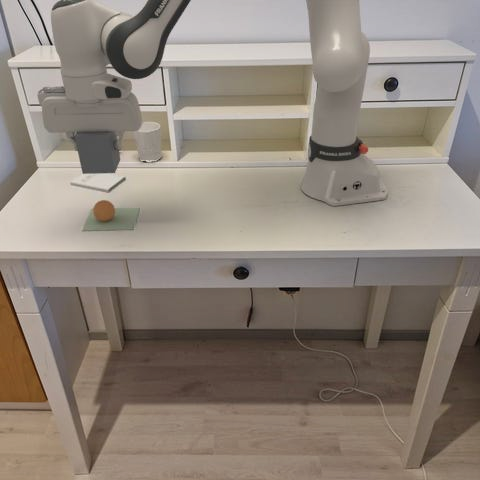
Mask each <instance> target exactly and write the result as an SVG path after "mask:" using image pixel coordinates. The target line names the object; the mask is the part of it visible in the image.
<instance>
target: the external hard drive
mask: <svg viewBox="0 0 480 480" xmlns="http://www.w3.org/2000/svg"><path fill="white" fill-rule="evenodd" d="M126 180H127V179H126V176H124V175H122V176H121V175H117V174H113V173H97V174H83V173H81V174H80V175H78V176H76V177H75V178H74V179H72V180H71V181H70V186H74V187H80V188H82V189H83V188H84V189H89V190H92V191H93V190H94V191H99V192H102V193H106V194H107V193H108V194H109V193H110V192H112V191H113V190H115V189H116V188H117V187H119V186H120V185H121V184H122V183H124V182H125V181H126Z"/></svg>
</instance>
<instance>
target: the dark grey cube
mask: <svg viewBox="0 0 480 480" xmlns="http://www.w3.org/2000/svg"><path fill="white" fill-rule="evenodd" d="M116 135H117V134H116V131H112V132H110V131H108V132H75V134H74V136H75V141H76V145H77V150H78V151H77V154H78V158H79V159H78V160H79V163H80V168H81V174H97V173H107V174H116V171H117V169H118V167H119V164H120V162H121V154H120V152H119V150H114V146H113V142H114V140H118V136H116Z"/></svg>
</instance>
